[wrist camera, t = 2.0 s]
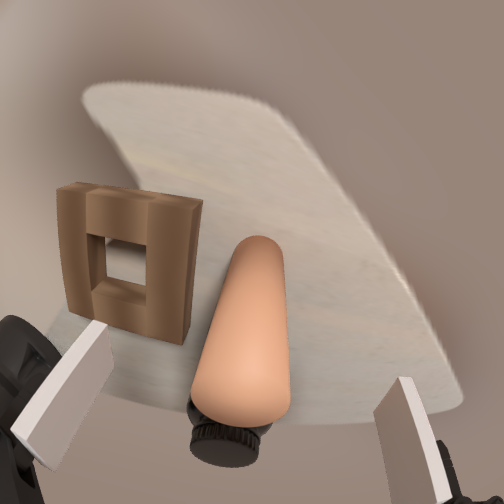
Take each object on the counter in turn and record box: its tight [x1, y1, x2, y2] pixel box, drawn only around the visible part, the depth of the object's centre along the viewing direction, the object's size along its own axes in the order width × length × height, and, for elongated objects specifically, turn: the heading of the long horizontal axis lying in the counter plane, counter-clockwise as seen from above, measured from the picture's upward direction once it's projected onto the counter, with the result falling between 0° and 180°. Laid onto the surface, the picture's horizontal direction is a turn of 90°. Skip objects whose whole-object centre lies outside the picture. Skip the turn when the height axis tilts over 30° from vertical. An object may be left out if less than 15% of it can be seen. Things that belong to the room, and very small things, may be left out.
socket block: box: [57, 182, 203, 345], centre depth 23 cm, size 12×12×3 cm
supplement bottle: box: [187, 392, 273, 468], centre depth 22 cm, size 7×7×12 cm
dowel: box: [191, 236, 291, 427], centre depth 17 cm, size 4×4×14 cm
